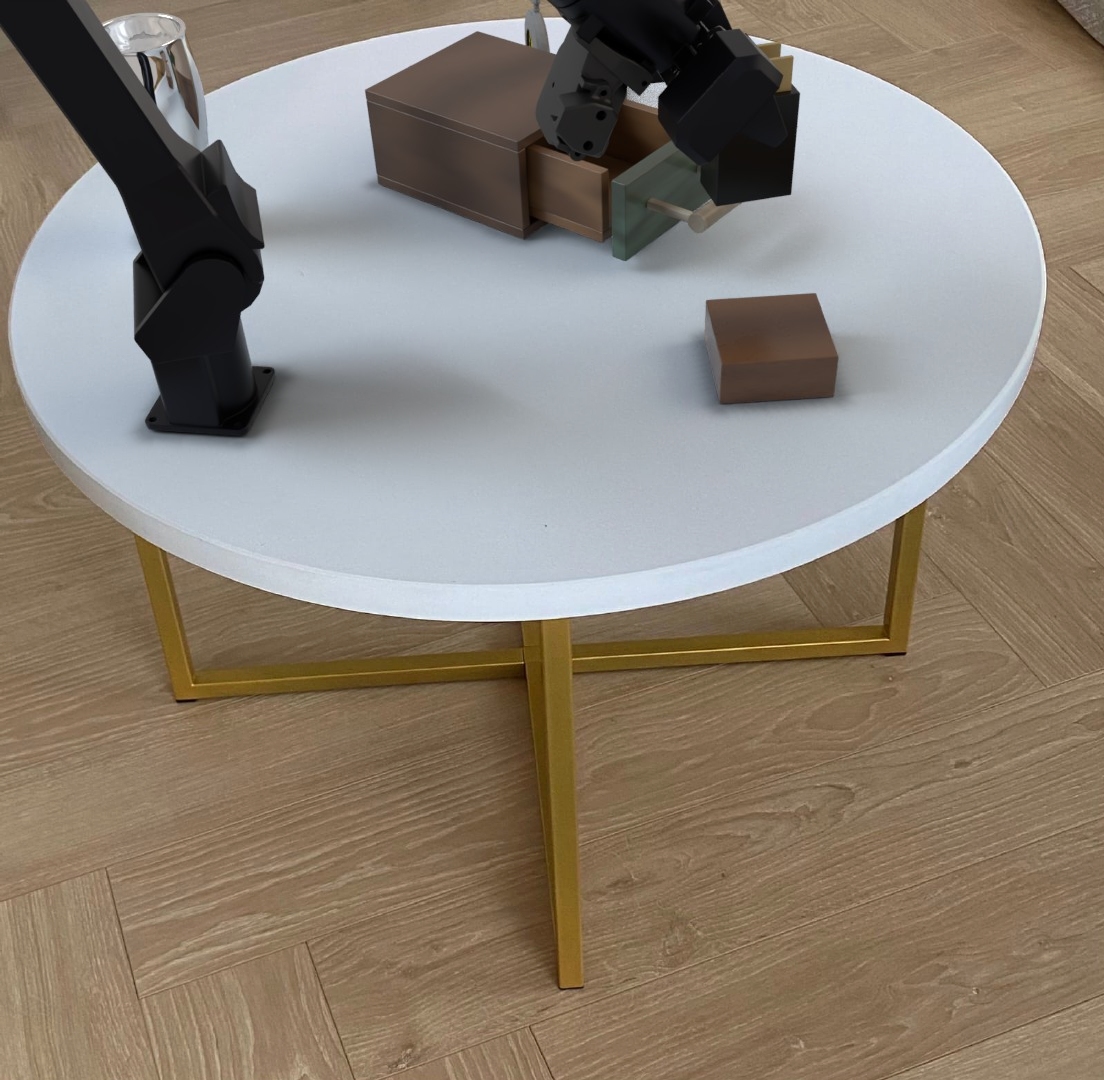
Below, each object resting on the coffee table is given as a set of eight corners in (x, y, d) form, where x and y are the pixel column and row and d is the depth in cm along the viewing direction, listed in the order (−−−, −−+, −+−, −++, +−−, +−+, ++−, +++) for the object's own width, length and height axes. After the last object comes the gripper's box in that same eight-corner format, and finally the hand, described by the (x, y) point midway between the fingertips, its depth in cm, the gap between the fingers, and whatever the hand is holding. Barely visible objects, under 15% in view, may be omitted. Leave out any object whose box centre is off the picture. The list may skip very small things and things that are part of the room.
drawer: (775, 213, 97) (781, 137, 93) (684, 284, 91) (687, 206, 87) (573, 145, 106) (570, 73, 102) (477, 206, 100) (470, 132, 96)
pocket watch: (636, 94, 114) (636, -27, 107) (565, 129, 110) (561, 5, 103) (568, 67, 118) (564, -51, 112) (497, 100, 114) (488, -20, 107)
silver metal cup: (212, 260, 97) (163, 56, 87) (122, 253, 98) (63, 51, 88) (247, 211, 102) (204, 12, 92) (161, 205, 103) (109, 9, 93)
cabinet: (627, 170, 104) (627, 74, 99) (523, 240, 97) (517, 141, 92) (484, 121, 111) (477, 30, 106) (377, 184, 104) (364, 89, 99)
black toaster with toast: (791, 195, 82) (803, 59, 77) (716, 206, 82) (722, 70, 76) (773, 170, 85) (783, 37, 79) (699, 182, 84) (704, 48, 78)
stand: (834, 397, 82) (839, 356, 80) (719, 404, 82) (721, 364, 80) (812, 332, 88) (816, 292, 86) (704, 338, 88) (705, 299, 86)
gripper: (459, 15, 82) (635, 158, 91) (525, 155, 68) (724, 307, 77) (583, -140, 77) (755, 26, 87) (679, -23, 64) (871, 159, 73)
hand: (770, 127), depth 81 cm, fingers closed on black toaster with toast, 3 cm apart
